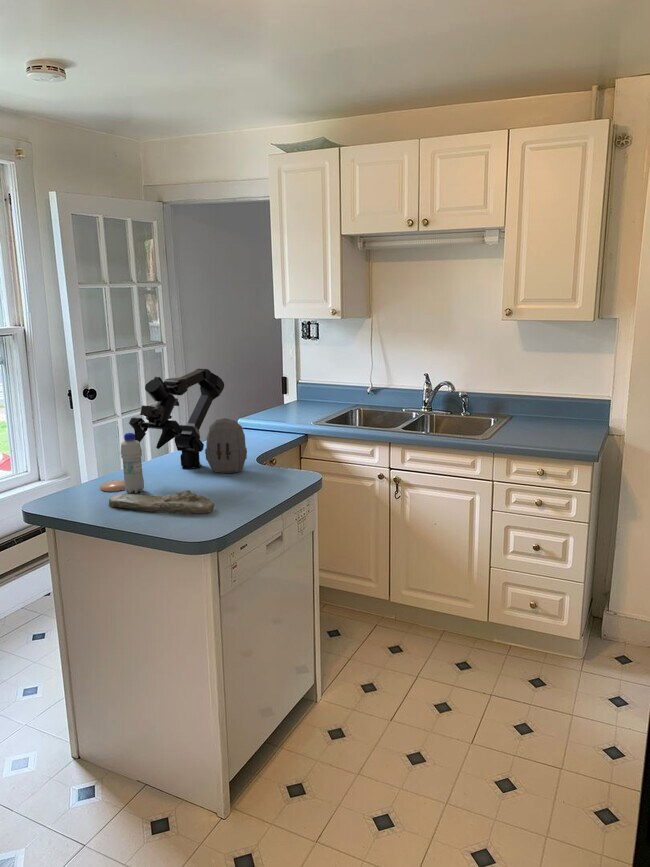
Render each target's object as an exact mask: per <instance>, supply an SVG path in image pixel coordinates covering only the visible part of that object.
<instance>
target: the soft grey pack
mask: <svg viewBox="0 0 650 867" xmlns="http://www.w3.org/2000/svg"><path fill="white" fill-rule="evenodd" d="M205 444H206V447H205V449H204V453H205V460H206V461H207V463H208V465H209V467H210V470H211V471H212V472H216V473H226V474H227V473H228V474H230V473H232V474H233V473H237V472H242V471H243V469H244V466H245V463H246V460H247V458H248V454H247V453H248V450H247V446H246V445H247V444H246V435H245V432H244V429H243V427H242V425H241V424H239V423H238V422H237V420H234V419H230V418H225V417H224V418H220V419H216V420H215V421H214V422H212V424H210V425H209V428H208V432H207V436H206V443H205Z"/></svg>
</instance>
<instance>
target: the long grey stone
mask: <svg viewBox="0 0 650 867" xmlns="http://www.w3.org/2000/svg"><path fill="white" fill-rule="evenodd" d="M108 505H109V507H110V506H111V507H110V508H119V509H120V508H121V509H126V510H132V511H137V510H138V511H143V512H149V511H150V513H156V512H158V513H159V512H161V513H167V514H182V515H183V514H184V515H192V514H202V513H203V514H204V513H210V512H212V511H213V510H214V509H215V503H214V502H213V501H211V500H210V498H207V497H205V496H204V495H201V494H195V493H194V492H191V490H183V491H181V492H176V494H175V493H172V494H169V495H164V496H163V495H162V496H161V495H154V494H153V495H151V494H148V495H146V494H137V493H132V494H131V493H127V492H126V493H119V494H114V495H112V496H110V497H109V499H108Z"/></svg>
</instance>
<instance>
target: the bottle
mask: <svg viewBox="0 0 650 867" xmlns="http://www.w3.org/2000/svg"><path fill="white" fill-rule="evenodd" d="M123 437H124V441H122V442H121V444H120V456H121V457H120V458H121V459H122V469H123V481H124V486H125V489H124V490H125V492H126V494H133V492H134V494H138V492H139V493H142V492H143V491H144V488H145V480H144V474H143V467H142V466H143V464H142V455H143V454H142V451H143V450H142V447H141V444H140V443H141V442H139V441H136V440H135V432H126V433H125V434H124V436H123Z"/></svg>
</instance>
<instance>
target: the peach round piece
mask: <svg viewBox="0 0 650 867" xmlns="http://www.w3.org/2000/svg"><path fill="white" fill-rule="evenodd" d="M100 489H101V490H103V491H102V492H105V491H114V492H119V491H120V490H121V491H124V490H125V486H124V480H121V479H120V480H111V481H105V482H103V483H101V484H99V490H100ZM101 490H100V491H101Z"/></svg>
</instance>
